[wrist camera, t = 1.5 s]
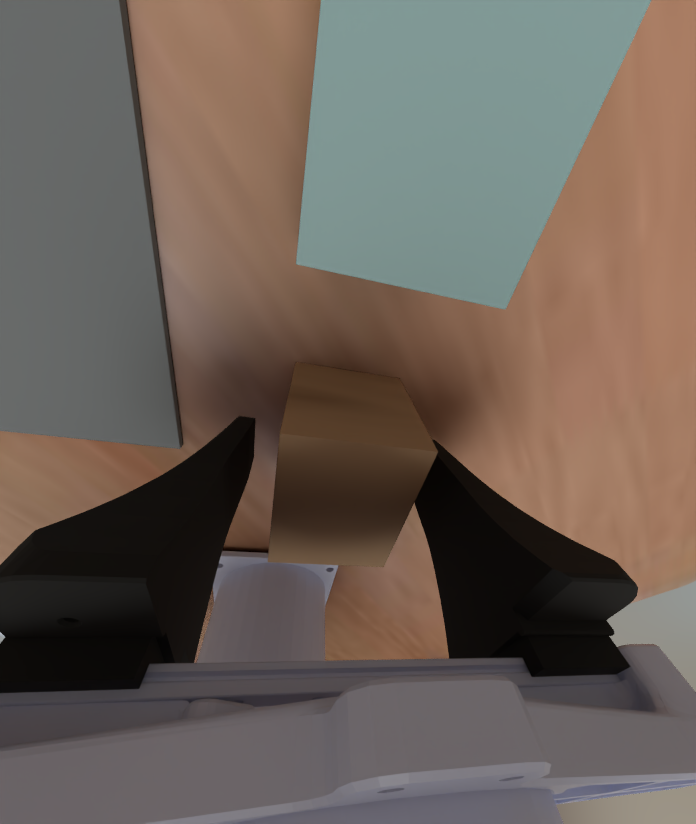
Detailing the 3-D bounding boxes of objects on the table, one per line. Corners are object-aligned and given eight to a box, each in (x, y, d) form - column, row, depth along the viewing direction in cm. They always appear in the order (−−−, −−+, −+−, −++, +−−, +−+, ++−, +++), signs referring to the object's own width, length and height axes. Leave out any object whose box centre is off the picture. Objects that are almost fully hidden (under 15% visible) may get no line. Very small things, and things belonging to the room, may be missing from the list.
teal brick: (430, 279, 10) (505, 309, 6) (308, 251, 10) (296, 264, 5) (511, 29, 7) (772, -257, 3) (341, -40, 7) (372, -547, 2)
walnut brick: (367, 476, 15) (383, 567, 11) (283, 467, 15) (267, 562, 10) (399, 377, 12) (438, 452, 8) (295, 361, 12) (279, 433, 7)
